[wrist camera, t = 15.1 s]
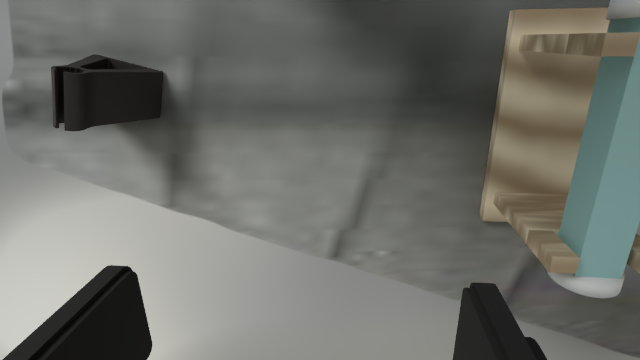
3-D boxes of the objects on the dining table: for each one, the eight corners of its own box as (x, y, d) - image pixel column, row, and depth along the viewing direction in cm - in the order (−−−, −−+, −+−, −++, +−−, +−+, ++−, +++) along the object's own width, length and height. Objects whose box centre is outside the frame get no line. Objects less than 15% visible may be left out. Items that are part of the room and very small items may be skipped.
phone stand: (164, 72, 47) (103, 82, 36) (160, 117, 49) (102, 140, 38) (95, 54, 47) (14, 58, 36) (95, 100, 49) (18, 118, 38)
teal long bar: (594, 0, 31) (645, -8, 25) (672, -2, 30) (743, -11, 25) (536, 260, 40) (565, 296, 34) (596, 262, 39) (636, 299, 34)
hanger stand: (510, 10, 41) (600, -7, 26) (627, 8, 40) (795, -12, 24) (479, 215, 50) (532, 294, 34) (574, 218, 49) (673, 301, 33)
